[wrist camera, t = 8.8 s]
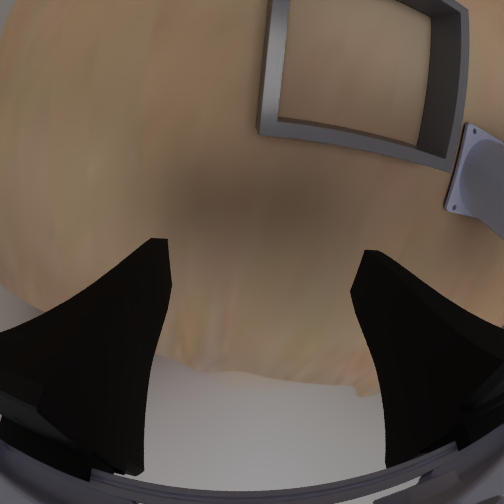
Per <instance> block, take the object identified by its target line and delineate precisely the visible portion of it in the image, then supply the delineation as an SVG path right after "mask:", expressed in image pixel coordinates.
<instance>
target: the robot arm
mask: <svg viewBox="0 0 504 504" xmlns="http://www.w3.org/2000/svg"><path fill="white" fill-rule="evenodd" d="M473 130H474V131H473ZM453 206H454V207H453ZM445 209H446V210H447V211H448V212H452V213H457V214H461V215H466V216H470V217H474V218H478V219H479V220H480V221H482V222H483V223H484V224H485V225H487V226H488V227H489V228H490V229H491V230H492V231H494V232H495V233H496V234H497V235H498V236H499V237H500V238H501V239H503V240H504V143H503V142H502V141H500V140H498V139H497V138H495V137H494V136H492V135H490V134H489V133H487V132H485V131H484V130H482V129H480V128H478V127H477V126H475V125H473V124H471V123H467V124H466V125H465V129H464V134H463V139H462V144H461V148H460V153H459V157H458V161H457V165H456V169H455V173H454V176H453V180H452V183H451V187H450V190H449V193H448V196H447V200H446V203H445ZM171 288H172V280H171V271H170V261H169V250H168V239H160V238H151V239H149V240H148V241H146V242H145V243H144V244H142V245H141V246H140V247H139V248H137V249H136V250H135V251H134V252H133V253H131V254H130V255H129V256H128V257H126V258H125V259H124V260H123V261H121V262H120V263H119V264H118V265H117V266H115V267H114V268H113V269H111V270H110V271H109V272H107V273H106V274H105V275H103V276H102V277H101V278H99V279H98V280H97V281H96V282H94V283H93V284H91V285H90V286H89V287H87V288H86V289H84V290H83V291H81V292H80V293H78V294H77V295H75V296H73V297H72V298H70V299H69V300H67V301H65V302H63V303H62V304H60V305H58V306H56V307H54V308H53V309H51V310H49V311H47V312H46V313H44V314H42V315H40V316H38V317H36V318H34V319H32V320H30V321H27V322H25V323H23V324H21V325H18V326H16V327H14V328H11V329H8V330H6V331H3V332H0V414H1V415H2V418H1V421H0V504H139V503H143V504H334V503H339V502H343V501H348V500H352V499H356V498H359V497H363V496H366V495H370V494H373V493H376V492H379V491H382V490H385V489H388V488H391V487H394V486H396V485H399V484H401V483H404V482H407V481H409V480H412V479H414V478H417V477H419V476H421V475H422V476H421V477H420V479H419V482H418V483H417V484H416V485H414V486H412V487H409V488H407V489H405V490H402V491H399V492H396V493H394V494H391V495H388V496H385V497H382V498H380V499H377V500H375V501H374V502H373V504H504V496H503V495H504V329H502V328H500V327H498V326H495V325H493V324H491V323H489V322H487V321H485V320H483V319H481V318H479V317H477V316H475V315H473V314H471V313H470V312H468V311H466V310H464V309H463V308H461V307H460V306H458V305H456V304H455V303H453V302H452V301H450V300H448V299H447V298H445V297H444V296H442V295H441V294H440V293H438V292H437V291H435V290H434V289H433V288H431V287H430V286H428V285H427V284H426V283H424V282H423V281H422V280H420V279H419V278H418V277H416V276H415V275H414V274H412V273H411V272H410V271H408V270H407V269H405V268H404V267H403V266H401V265H400V264H399V263H397V262H396V261H394V260H393V259H392V258H390V257H389V256H387V255H385V254H384V253H382V252H380V251H377V250H365V251H364V254H363V257H362V260H361V263H360V266H359V268H358V271H357V274H356V277H355V279H354V282H353V285H352V287H351V290H350V293H351V298H352V302H353V306H354V310H355V314H356V316H357V319H358V321H359V324H360V327H361V329H362V332H363V334H364V337H365V339H366V342H367V345H368V347H369V350H370V353H371V355H372V358H373V361H374V364H375V367H376V371H377V376H378V380H379V385H380V390H381V396H382V403H383V409H384V419H385V431H386V432H385V435H386V436H385V438H386V453H385V464H386V468H387V469H384V470H381V471H377V472H374V473H370V474H367V475H363V476H359V477H355V478H351V479H347V480H343V481H338V482H333V483H327V484H321V485H316V486H309V487H301V488H293V489H283V490H269V491H210V490H197V489H187V488H179V487H171V486H165V485H158V484H153V483H147V482H142V481H138V480H133V479H129V478H125V477H121V476H117V475H114V473H118V474H122V475H125V474H128V475H132V476H138V475H139V474H141V473H142V472H143V471H144V427H145V412H146V401H147V392H148V384H149V377H150V371H151V366H152V361H153V357H154V354H155V350H156V347H157V343H158V340H159V336H160V333H161V330H162V326H163V323H164V320H165V316H166V313H167V310H168V305H169V300H170V294H171ZM136 502H138V503H136Z"/></svg>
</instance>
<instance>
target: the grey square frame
mask: <svg viewBox="0 0 504 504" xmlns="http://www.w3.org/2000/svg"><path fill="white" fill-rule="evenodd" d="M289 1H290V0H268V8H267V17H266V27H265V36H264V46H263V56H262V66H261V76H260V86H259V96H258V106H257V116H256V129H257V131H258V134H259V135H263V136H274V137H283V138H292V139H300V140H307V141H314V142H321V143H327V144H333V145H339V146H344V147H350V148H355V149H360V150H365V151H370V152H374V153H379V154H383V155H387V156H391V157H396V158H400V159H403V160H407V161H411V162H415V163H418V164H422V165H425V166H429V167H432V168H435V169H438V170H442V171H445V172H448V173H451V169H452V165H453V162H454V157H455V153H456V149H457V144H458V140H459V135H460V130H461V124H462V118H463V112H464V105H465V98H466V90H467V79H468V66H469V14H468V9H466V8H465V7H464V6H462V5H461V4H459V3H458V2H456V1H455V0H397V1H399V2H401V3H404V4H406V5H408V6H410V7H412V8H414V9H416V10H418V11H420V12H422V13H424V14H426V15H428V16H429V17H431V18H432V27H431V52H430V66H429V76H428V85H427V93H426V100H425V107H424V113H423V119H422V124H421V130H420V135H419V140H418V144H417V146H416V145H413V144H409V143H406V142H403V141H399V140H396V139H392V138H388V137H384V136H381V135H377V134H373V133H368V132H364V131H360V130H355V129H350V128H346V127H341V126H336V125H330V124H325V123H319V122H313V121H306V120H299V119H292V118H284V117H277V116H278V107H279V98H280V89H281V80H282V70H283V61H284V51H285V42H286V32H287V22H288V12H289Z"/></svg>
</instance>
